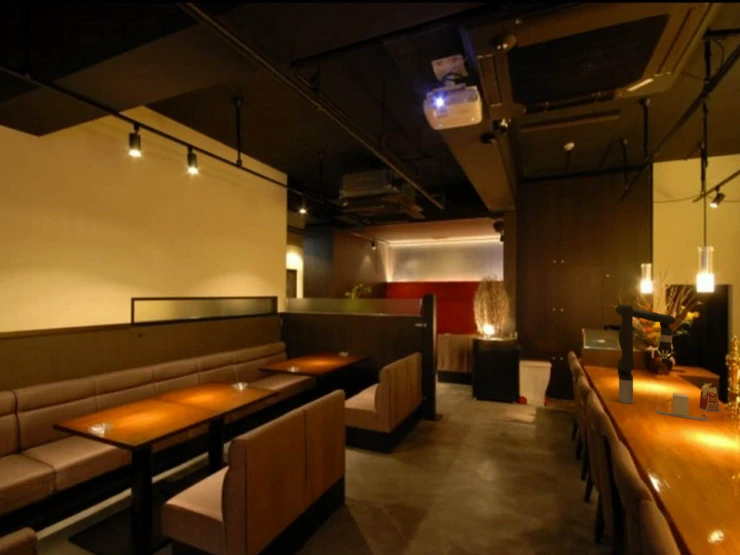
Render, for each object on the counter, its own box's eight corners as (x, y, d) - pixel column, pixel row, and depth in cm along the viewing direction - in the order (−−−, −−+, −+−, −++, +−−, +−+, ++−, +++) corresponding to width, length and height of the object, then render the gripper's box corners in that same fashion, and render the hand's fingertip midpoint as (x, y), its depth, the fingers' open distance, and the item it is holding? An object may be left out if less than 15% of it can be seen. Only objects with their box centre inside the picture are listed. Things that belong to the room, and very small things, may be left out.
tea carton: (673, 415, 268) (673, 395, 268) (673, 412, 275) (672, 392, 275) (688, 418, 264) (688, 397, 264) (687, 414, 270) (687, 394, 270)
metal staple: (656, 413, 273) (656, 411, 273) (656, 408, 284) (655, 406, 284) (707, 421, 257) (707, 419, 257) (704, 415, 268) (704, 413, 268)
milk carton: (721, 412, 275) (720, 384, 276) (706, 411, 277) (705, 383, 278) (712, 408, 284) (712, 381, 285) (698, 407, 286) (697, 380, 286)
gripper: (655, 340, 298) (653, 362, 297) (677, 342, 290) (675, 366, 290) (654, 339, 304) (652, 361, 304) (675, 342, 297) (674, 364, 296)
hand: (663, 363), depth 297 cm, fingers closed
